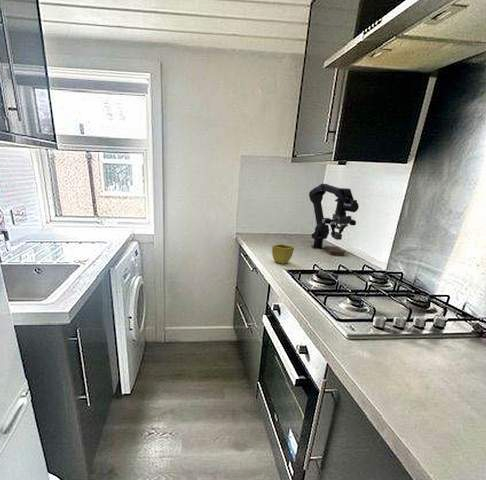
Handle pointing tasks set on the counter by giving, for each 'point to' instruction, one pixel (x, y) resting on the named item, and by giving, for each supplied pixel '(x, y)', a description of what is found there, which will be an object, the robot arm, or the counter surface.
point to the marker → (336, 236)
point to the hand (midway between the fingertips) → (336, 235)
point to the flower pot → (282, 253)
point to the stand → (334, 250)
